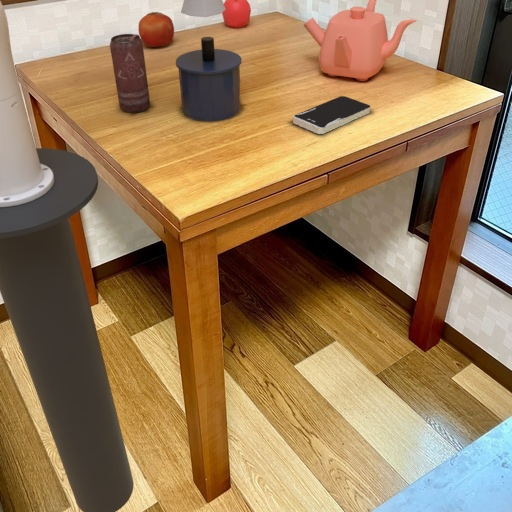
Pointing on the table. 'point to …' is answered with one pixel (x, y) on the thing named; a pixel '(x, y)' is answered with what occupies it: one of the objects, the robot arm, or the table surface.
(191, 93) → the pot
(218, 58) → the pot lid
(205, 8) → the flask
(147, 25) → the tomato
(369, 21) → the teapot
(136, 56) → the can
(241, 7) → the apple
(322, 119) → the smartphone
